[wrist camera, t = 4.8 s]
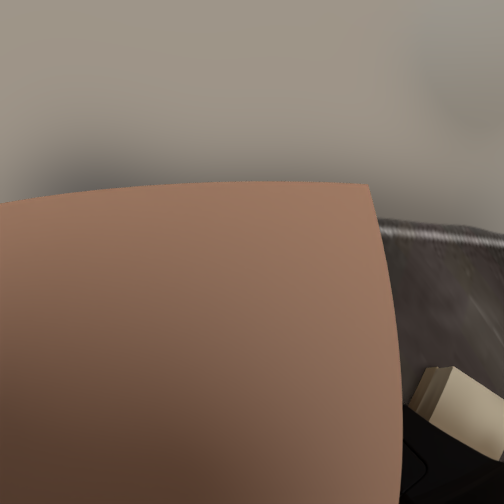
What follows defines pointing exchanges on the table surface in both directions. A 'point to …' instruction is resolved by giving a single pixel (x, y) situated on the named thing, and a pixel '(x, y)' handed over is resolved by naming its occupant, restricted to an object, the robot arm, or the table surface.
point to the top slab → (465, 411)
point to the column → (198, 347)
